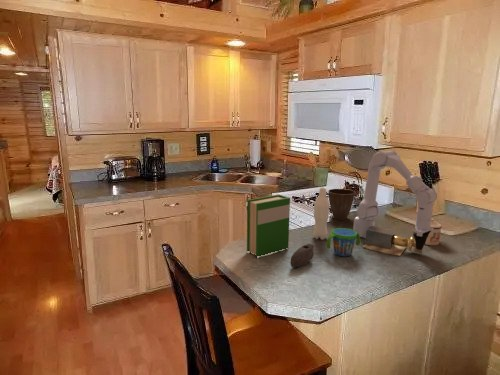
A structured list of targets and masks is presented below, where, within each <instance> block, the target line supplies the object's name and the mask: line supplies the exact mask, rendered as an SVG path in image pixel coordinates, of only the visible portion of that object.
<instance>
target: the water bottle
mask: <svg viewBox="0 0 500 375" xmlns="http://www.w3.org/2000/svg"><path fill="white" fill-rule="evenodd" d="M313 205H314V207H313V208H314V209H313V217H314V229H313V231H312V235H313V237H314V239H315V238H316V239H315V240H318V239H320V241H321V240H322V241H323V240H326V239H327V238H328V235H329V231H328V227H327V223H328V220H329V218H330V216H329V214H330V202H329V198H327V188H326V187H320V188H319V191H318V196H317V198H316V200H315V202H314V204H313Z"/></svg>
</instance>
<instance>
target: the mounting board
mask: <svg viewBox="0 0 500 375" xmlns="http://www.w3.org/2000/svg"><path fill="white" fill-rule="evenodd" d="M362 248H363V249H367V250H371V251H375V252H379V253H380V252H381V253H384V254H389V255H393V256H396V257H397V256H398V257H400V256H402V254H403V253H404V252H405V250H406V248H405V247H401V246H396V245H393V247H392V248H391V249H390V250H389V249H385V248H380V247H376V246H371V245H367V244H364V245H363V246H362Z"/></svg>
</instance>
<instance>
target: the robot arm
mask: <svg viewBox="0 0 500 375" xmlns="http://www.w3.org/2000/svg"><path fill="white" fill-rule="evenodd" d="M385 167H388V168H393V169H395V171H397V173H399V174H400V175H401V176H402V177H403V178H404V179H405V181H406V182H405V185H406V186H407V187H408V188H409V189H410V190H411V191H412V192H413V194H414V195H415V200H416V202H417V212H416V219H415V226H414V229H415V231H416V232H413V233H412V237H414V242H416V249H418V250H422V248H423V245H424V246H425V245H426V244H425V243H426V239H427V237H428V235H429V233H430V232H431V231H433V228H430V227H431V219H433V212H434V211H433V210H434V203H435V201H436V200H437V199H438V194H437V192H436V191H435V189H433V188H430V186H428V185H426V184H425V183H424V182H423V178H422V177H421V176H419V175H414V174H413V173H412V172H411V170H410V169H409V168H408V167H407V166H406V164H405V163H404V162H403V160H402V159H401V156H400V155H399V154H398V153H397V152H396V151H394V150H386V151H377V152H375V153H374V154H373V155H372V158H371V160H370V162H369V163H368V170H367V174H366V175H367V176H366V181H365V182H366V183H365V189H364V196H363V199H362V200H361V201H360V202H359V204H358V207H357V209H356V215H357V216H356V217H354V220H353V228H352V230H354V231H356V232H357V233H358V234H359V236H360V238H365V239H366V231H367V229H368V228H369V227H370V226H374V227H375V221H376V220H375V219H376V216H377V215H379V206H378V205H379V202H378V201H376V199H377V195H378V194H377V193H378V186H379V181H380V176H381V175H380V174H381V170H382V169H384V168H385Z"/></svg>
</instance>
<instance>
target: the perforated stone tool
mask: <svg viewBox="0 0 500 375" xmlns="http://www.w3.org/2000/svg"><path fill="white" fill-rule="evenodd" d="M314 255H315V254H314V245H313V244H311V243H307V244H305V245H302V246H301V247H299V248H298V249H297V250H296V251H295V252H294V253H293V254H292V256H291V258H290V266H291V267H292V268H294V269H295V268H296V267H297V268H301V267H302V266H305V265H307V264H308V263H309V262H311V261H312V259H313V258H314Z"/></svg>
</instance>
